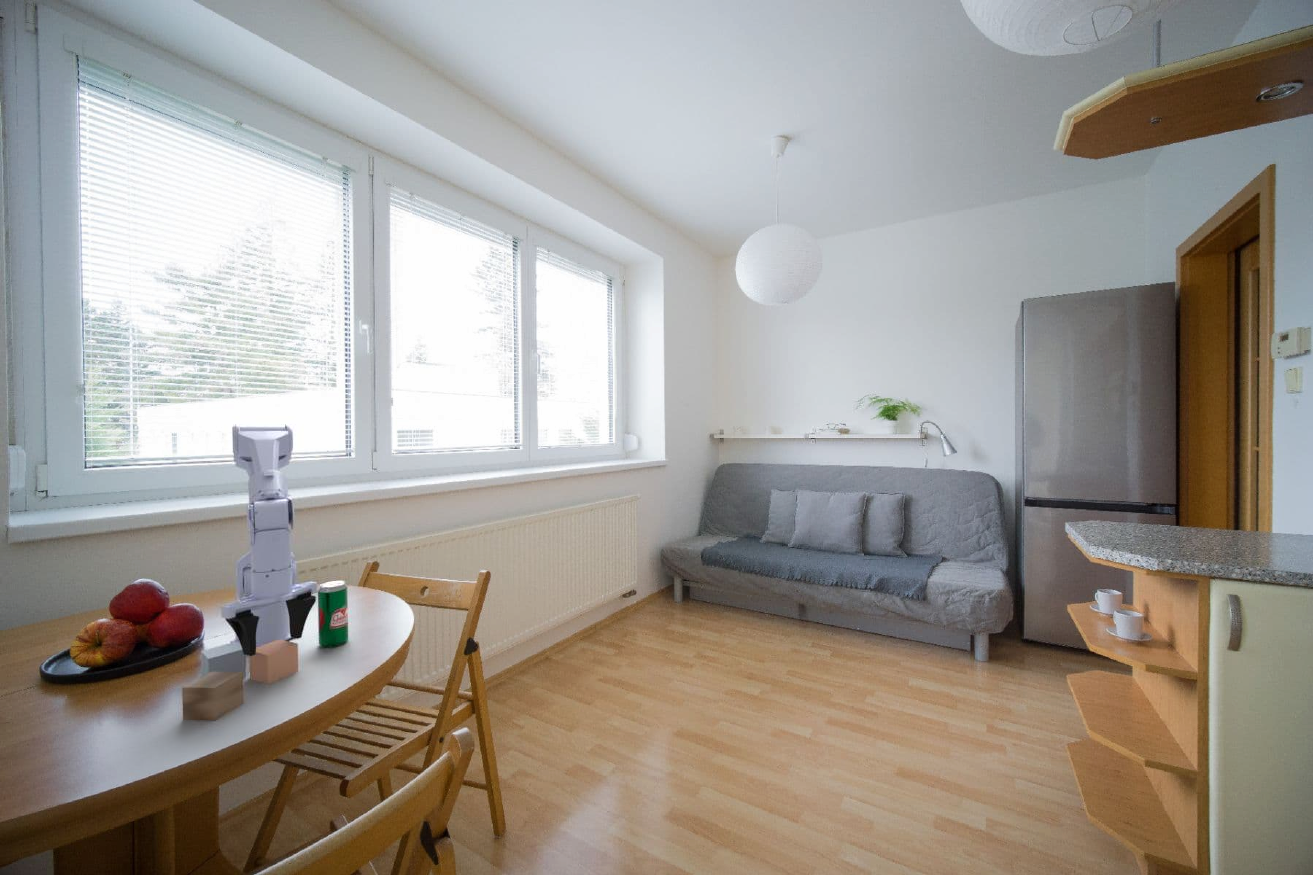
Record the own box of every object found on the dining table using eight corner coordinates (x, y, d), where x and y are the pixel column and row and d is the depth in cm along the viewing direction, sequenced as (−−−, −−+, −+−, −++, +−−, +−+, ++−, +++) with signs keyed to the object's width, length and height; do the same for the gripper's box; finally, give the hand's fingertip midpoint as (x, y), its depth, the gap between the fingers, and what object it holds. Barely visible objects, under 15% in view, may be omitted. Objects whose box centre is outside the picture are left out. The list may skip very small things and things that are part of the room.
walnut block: (182, 720, 77) (182, 687, 77) (213, 702, 82) (212, 671, 82) (215, 721, 77) (214, 687, 76) (243, 703, 82) (243, 671, 81)
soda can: (334, 649, 101) (333, 588, 101) (312, 647, 102) (311, 586, 102) (354, 639, 106) (353, 580, 106) (333, 637, 107) (332, 579, 107)
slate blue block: (201, 679, 89) (200, 650, 89) (237, 668, 93) (237, 641, 93) (209, 688, 86) (208, 658, 86) (246, 676, 90) (245, 648, 90)
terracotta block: (249, 678, 90) (249, 650, 89) (280, 666, 94) (279, 639, 94) (268, 684, 88) (267, 655, 87) (298, 671, 92) (297, 643, 92)
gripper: (239, 581, 82) (241, 666, 82) (327, 560, 96) (329, 633, 96) (212, 577, 85) (214, 659, 85) (302, 557, 98) (304, 628, 99)
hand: (273, 645), depth 91 cm, fingers open, 7 cm apart
